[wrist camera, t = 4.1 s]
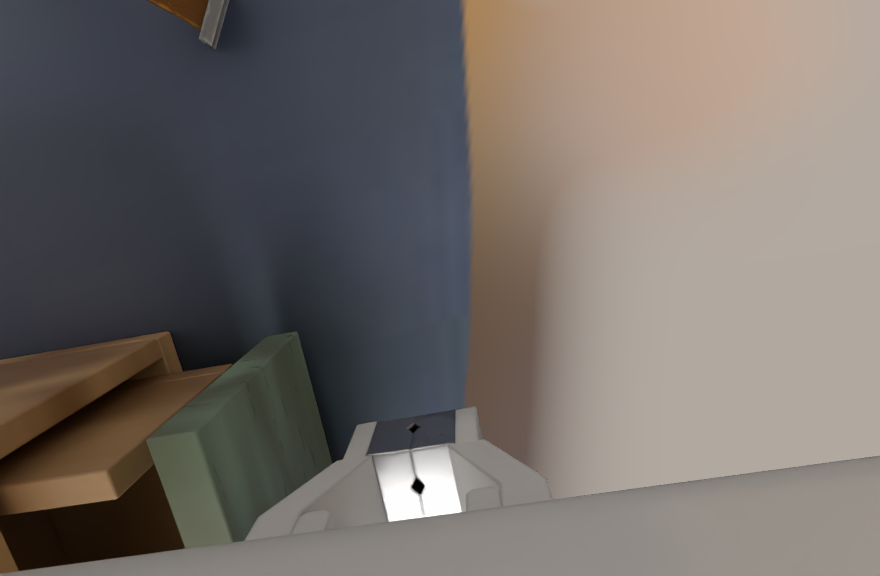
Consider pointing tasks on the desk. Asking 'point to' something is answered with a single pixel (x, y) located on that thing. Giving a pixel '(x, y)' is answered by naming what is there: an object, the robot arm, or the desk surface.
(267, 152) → the desk surface
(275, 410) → the drawer
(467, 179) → the desk surface
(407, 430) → the robot arm
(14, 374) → the cabinet
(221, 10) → the wooden post with brackets
